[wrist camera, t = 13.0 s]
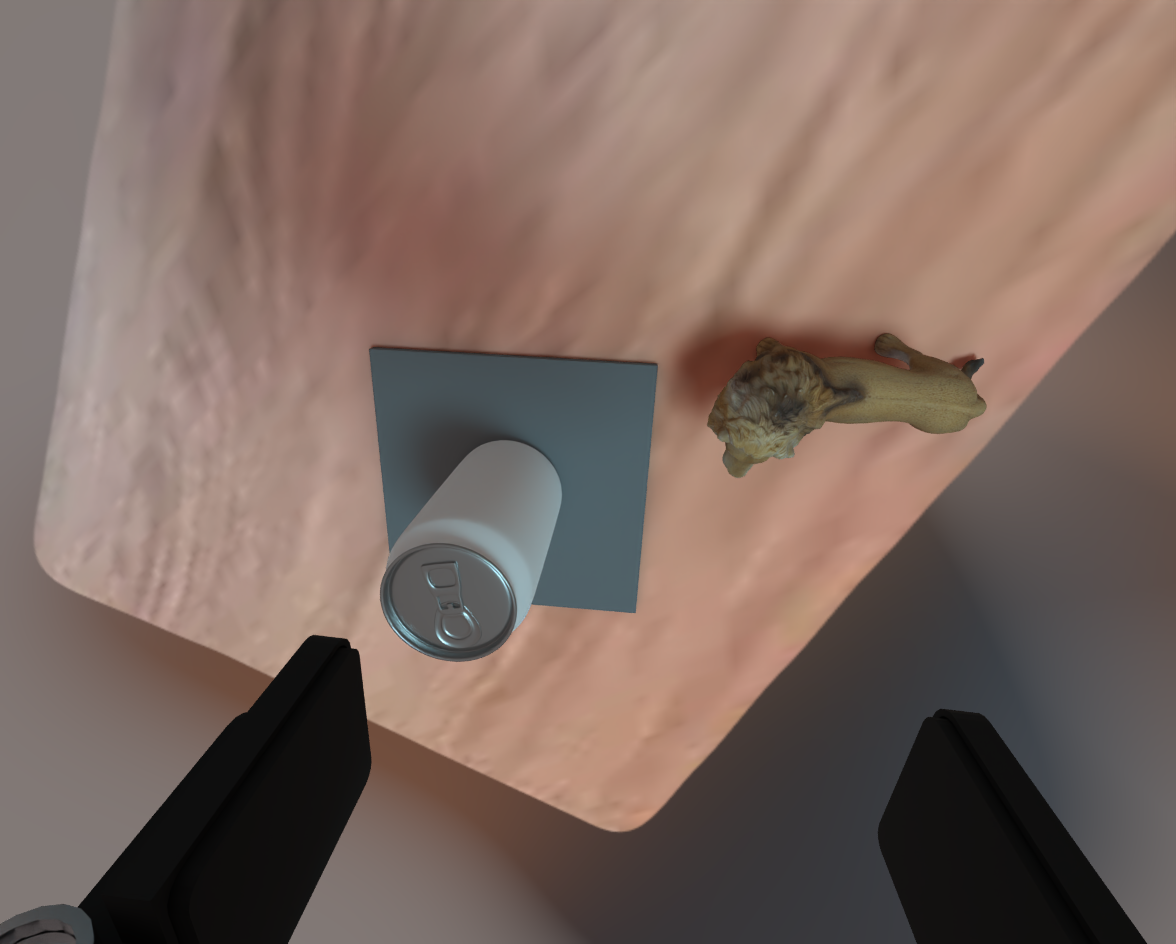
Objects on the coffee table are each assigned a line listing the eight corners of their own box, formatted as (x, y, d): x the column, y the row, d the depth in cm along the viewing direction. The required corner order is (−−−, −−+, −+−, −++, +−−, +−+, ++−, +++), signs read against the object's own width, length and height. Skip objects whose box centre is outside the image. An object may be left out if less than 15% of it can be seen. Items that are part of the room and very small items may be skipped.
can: (470, 541, 35) (394, 675, 24) (445, 445, 33) (347, 543, 22) (572, 530, 34) (541, 664, 23) (552, 430, 32) (508, 525, 21)
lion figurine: (698, 437, 32) (719, 502, 24) (690, 343, 30) (711, 379, 22) (972, 405, 30) (1099, 463, 22) (982, 303, 29) (1124, 326, 20)
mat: (373, 347, 32) (369, 349, 31) (657, 363, 31) (657, 365, 30) (397, 587, 38) (393, 592, 37) (635, 607, 37) (635, 613, 36)
